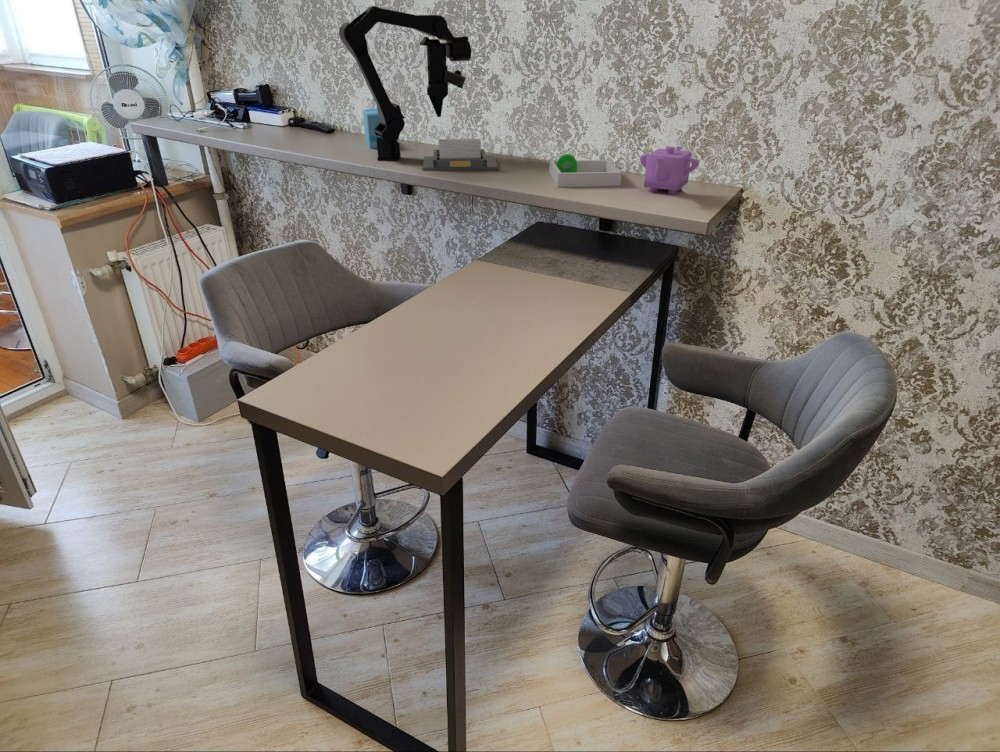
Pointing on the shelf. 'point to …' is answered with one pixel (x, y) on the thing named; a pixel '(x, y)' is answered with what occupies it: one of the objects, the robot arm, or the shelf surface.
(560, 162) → the mechanical part
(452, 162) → the rack
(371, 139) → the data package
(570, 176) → the parts corral
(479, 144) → the panel
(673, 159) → the teapot
